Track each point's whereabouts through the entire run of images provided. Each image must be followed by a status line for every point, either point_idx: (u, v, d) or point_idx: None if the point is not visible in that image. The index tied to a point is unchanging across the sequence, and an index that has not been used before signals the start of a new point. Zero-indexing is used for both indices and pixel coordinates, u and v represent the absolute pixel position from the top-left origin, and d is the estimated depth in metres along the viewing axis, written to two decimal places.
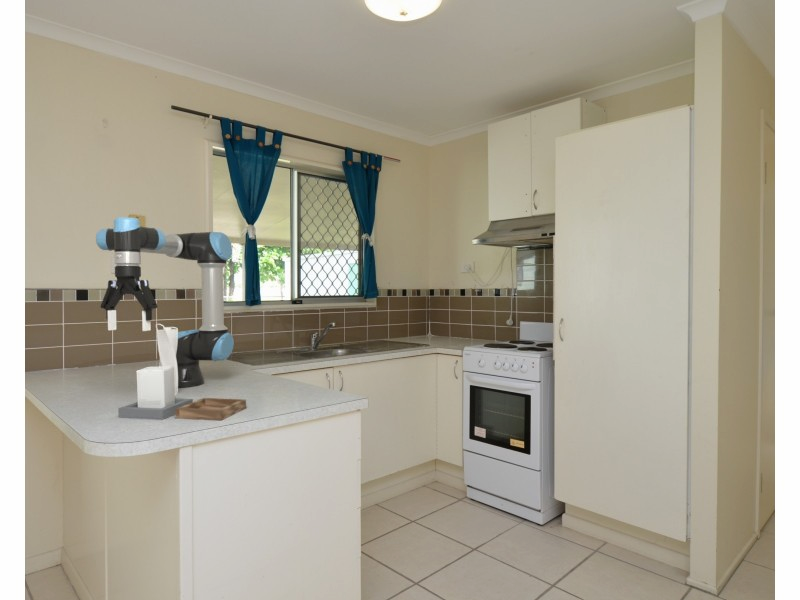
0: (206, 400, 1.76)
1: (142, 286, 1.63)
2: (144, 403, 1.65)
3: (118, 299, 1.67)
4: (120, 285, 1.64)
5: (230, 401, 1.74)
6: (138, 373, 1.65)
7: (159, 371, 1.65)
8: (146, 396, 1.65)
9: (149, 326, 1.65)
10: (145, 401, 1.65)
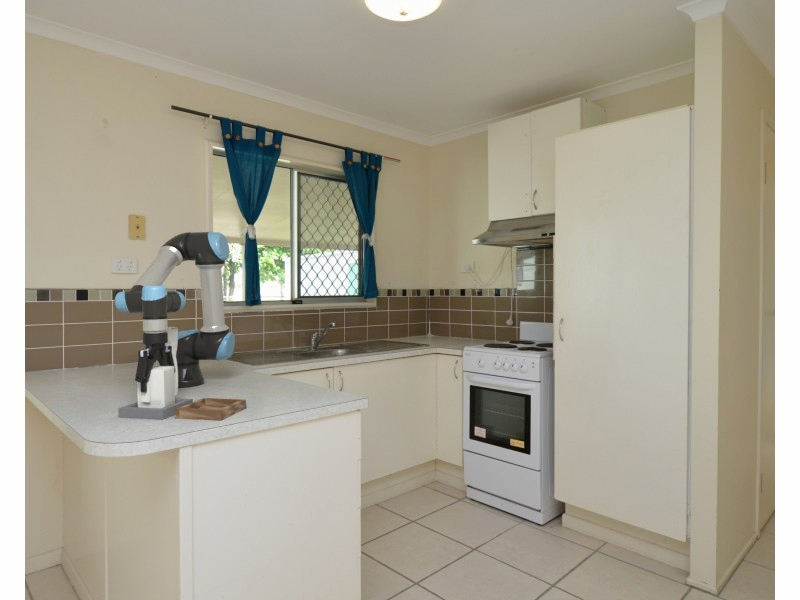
0: (206, 400, 1.76)
1: None
2: (144, 403, 1.65)
3: (163, 364, 1.73)
4: None
5: (230, 401, 1.74)
6: None
7: (159, 371, 1.65)
8: None
9: (147, 398, 1.64)
10: None
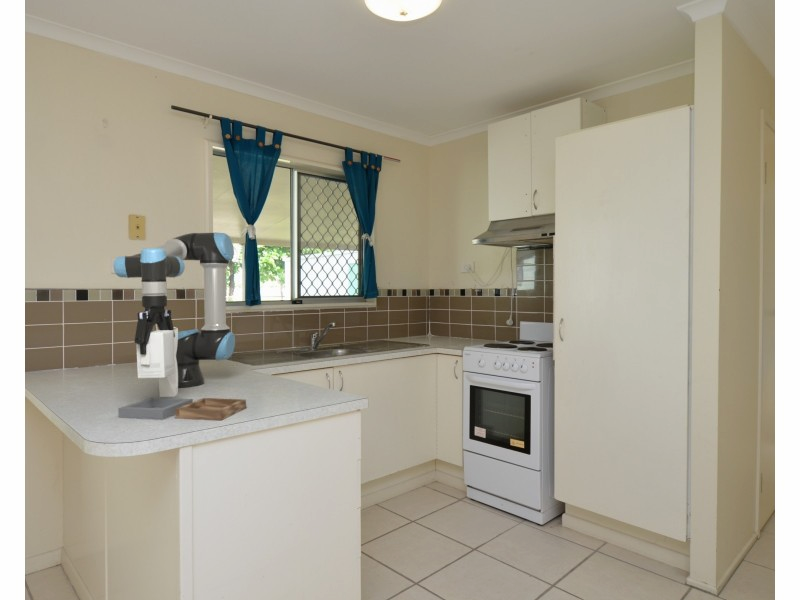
0: (206, 400, 1.76)
1: None
2: (143, 365, 1.65)
3: (162, 328, 1.72)
4: None
5: (230, 401, 1.74)
6: None
7: (158, 334, 1.65)
8: None
9: (147, 360, 1.64)
10: None
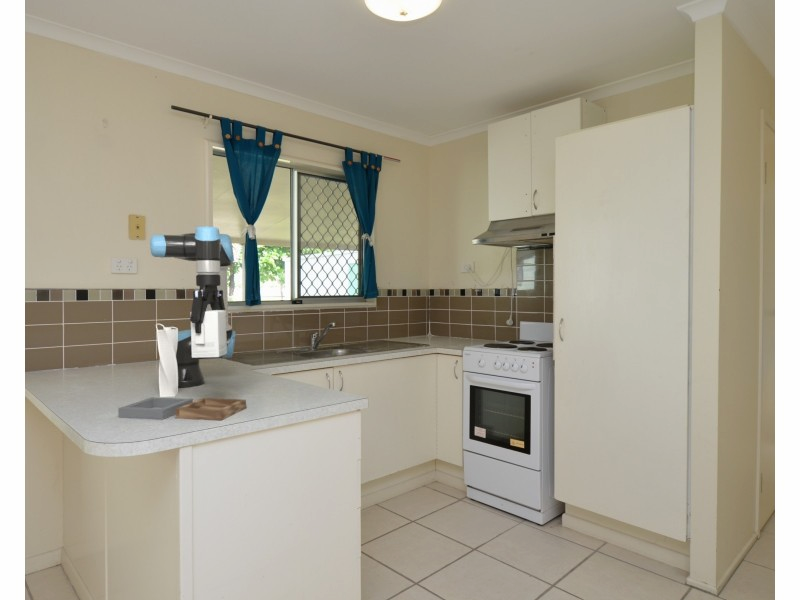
0: (206, 400, 1.76)
1: None
2: (198, 344, 1.63)
3: (215, 308, 1.70)
4: None
5: (230, 401, 1.74)
6: None
7: (213, 312, 1.63)
8: None
9: (201, 339, 1.62)
10: None
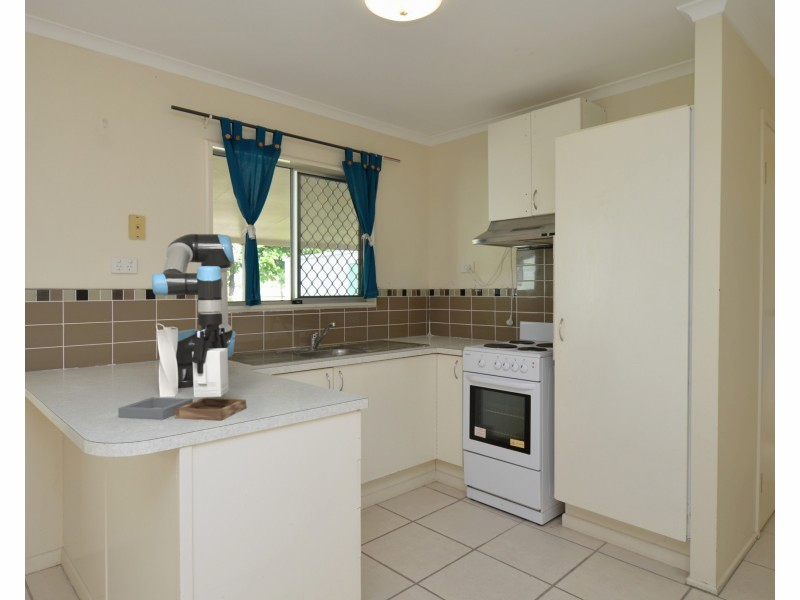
0: (206, 400, 1.76)
1: None
2: (200, 384, 1.63)
3: (217, 346, 1.71)
4: None
5: (230, 401, 1.74)
6: None
7: (215, 352, 1.63)
8: None
9: (203, 379, 1.62)
10: None
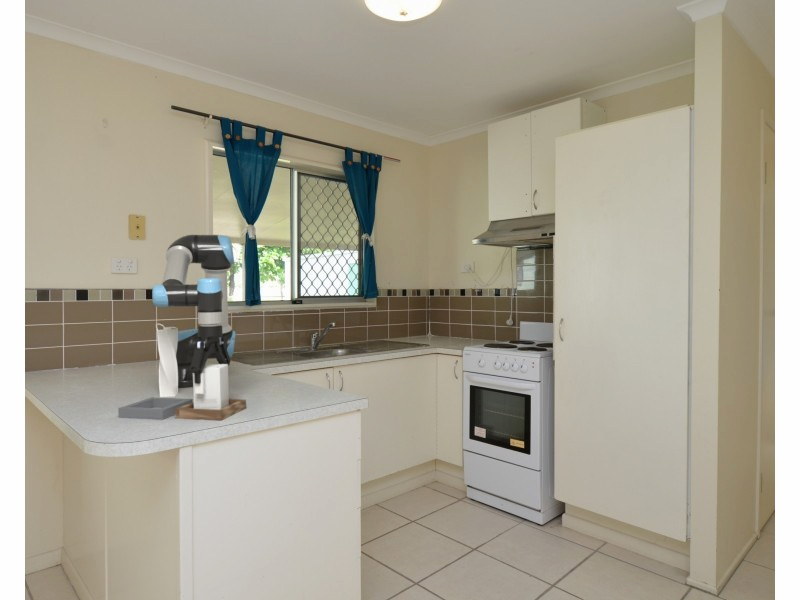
0: None
1: None
2: (200, 401, 1.64)
3: (218, 356, 1.72)
4: None
5: (230, 401, 1.74)
6: None
7: (215, 369, 1.64)
8: (202, 394, 1.64)
9: (201, 389, 1.61)
10: (201, 399, 1.64)
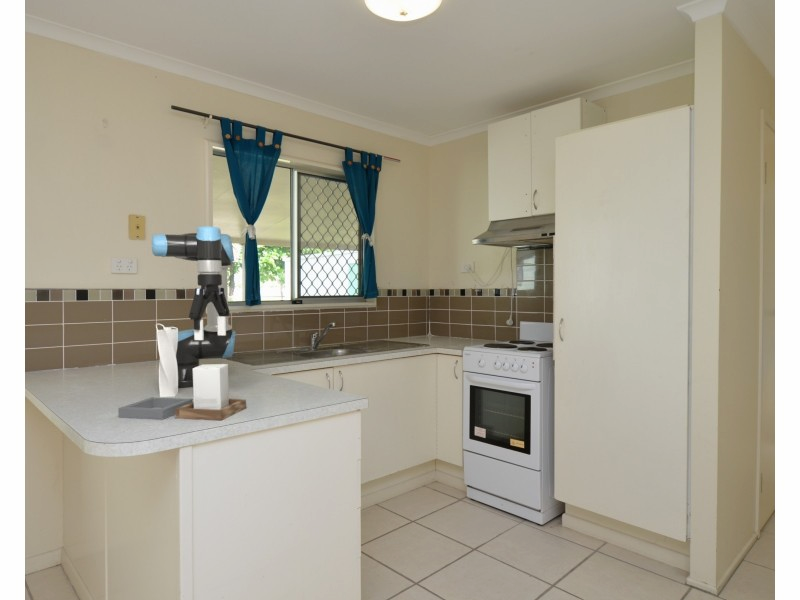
0: None
1: None
2: (200, 401, 1.64)
3: (218, 306, 1.73)
4: None
5: (230, 401, 1.74)
6: (194, 371, 1.63)
7: (215, 369, 1.64)
8: (202, 394, 1.64)
9: (200, 336, 1.62)
10: (201, 399, 1.64)
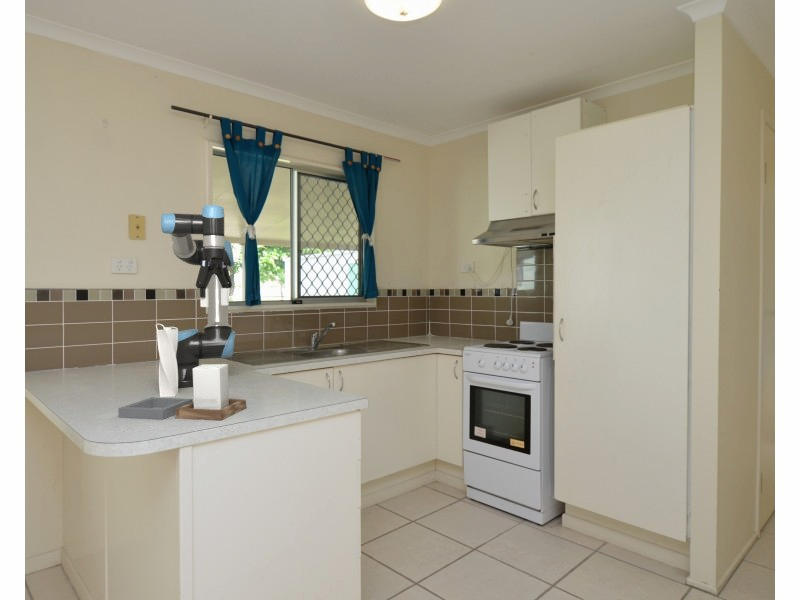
0: None
1: None
2: (200, 401, 1.64)
3: (221, 278, 1.90)
4: None
5: (230, 401, 1.74)
6: (194, 371, 1.63)
7: (215, 369, 1.64)
8: (202, 394, 1.64)
9: (206, 303, 1.79)
10: (201, 399, 1.64)
